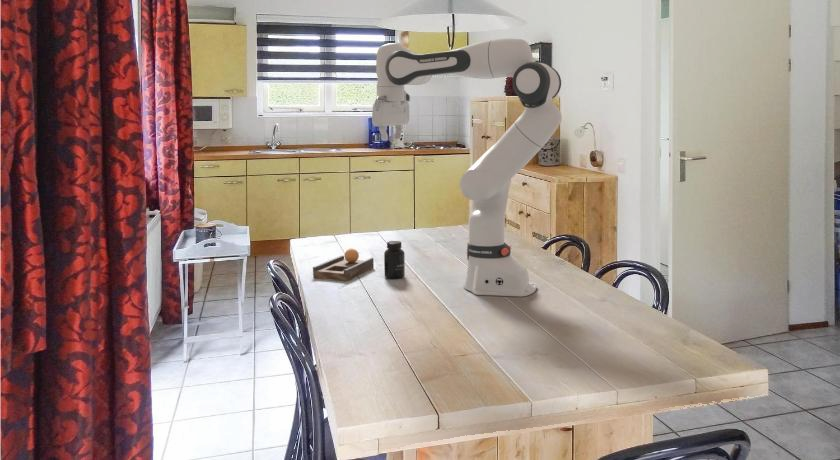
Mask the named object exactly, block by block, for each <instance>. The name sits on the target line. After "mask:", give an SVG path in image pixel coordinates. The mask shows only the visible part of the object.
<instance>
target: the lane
mask: <svg viewBox="0 0 840 460" xmlns="http://www.w3.org/2000/svg"><path fill="white" fill-rule="evenodd" d="M374 267H375V265H374V258H373V257H370V258H367V259H365V260H363V259H362V260H361V259H358V260H357V261H356V262H353V263H350V262H348V261H346V259H345V255H340V256H337V257H335V258H332V259H331V260H330V259H329V260H327V261H325V262H322V263H320V264H317V265H316V266H313V267H312V276H313V279H322V280H331V281H341V282H348V281H350V280H353V279H355V278H357V277H359V276H360V275H362V274H365V273H367V272H369V271H371V270H373V269H374Z"/></svg>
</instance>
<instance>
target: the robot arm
mask: <svg viewBox="0 0 840 460" xmlns="http://www.w3.org/2000/svg"><path fill="white" fill-rule="evenodd" d="M532 52H533V51H532V48H531V46H530V44H529V43H528V42H527V41H526V40H525V39H521V38H498V39H495V38H494V39H489V40H485V41H484V40H483V41H480V42H475V43H472V44H469V45H465V46H462V47H458V48H455V49H451V50H448V51H447V50H446V51H439V52H432V53H431V52H429V53H422V54H421V53H419V52H415V51H413V50H410V49H408V48H407V47H405V46H403V45H402V44H401V43H399V42H393V43H391V42H389V43H386V44H383V45H381V46H380V47H379V48H378V50H377V52H376V61H375V62H376V63H375V64H376V65H375V66H376V67H375V70H376V71H375V72H376V76H377V83H376V99H375V100H374V103H373V104H372V112H371V124H372V125H373V127H378V130H379V134H380V139H381V141H382V142H383V141H384V142H387V141H389V134H388V132H387V130H388V126H389V127H391V126H394V128H395V132H394V135H393V136H394V137H393V138H394V140H401V138H402V132H403V128H404V125H408V124H409V121H410V103H409V102H411V94H409V93H407V91H406V90H405V85H406V86H420V85H423V84H426V83H428V82H429V81H430V80H431V78H432V77H433V76H437V75H445V74H446V75H455V76H456V75H457V76H462V77H467V78H470V79H471V78H473V79H483V80H484V79H487V80H488V79H499V78H512V83H511V84H512V87H513V90H514V92H515V95H516V96H517V98H518V99H519V101H520V103H521V105H522V106H523V107H524V109H523V112H521V114H520V115H519V116H518V118H517V119H516V120H515V121H514V122H513V123H512V124H511V126H509V128H507V130H506V131H505V132H504V133H503V134H502V136H501V137H500V138H499V139H498V140H497V141H496V142H495V143H494V144H493V145H491V147H490V148H488V149H487V150H486V151H485V152H484V153H483V154H482V155H481V156H480V157H479V158H478V159H477V160H475V162H474V163H473V164H472V165H471V166H470V167H469V168H467V170H465V171H464V173H463V174H462V175H461V177H460V180H459V188H460V191H461V194H462V195H463V196H464V197H465V198H466V199H468V200H470V201H472V206H471V210H470V213H469V216H468V242H467V243H466V244H467V247H466V256H467V259H466V261H467V269H466V276H465V280H464V283H463V284H464V285H463V288H464V289H465V290H467V291H469V292H470V293H472V294H474V295H475V296H477V295H479V296H497V297H500V296H502V297H523V298H524V297H527V296H530V295H532V294H534V292H536V290H537V284H536V283H535V282H532V281H530V277H529V273H528V272H529V271H528V269H527V267H525V266H524V265H523V264H522V263H521V262H519V261H518V260H517V259H516V258H515V257H513V256H512V255H511V250H512V244H511V245H508V244H507V243H506V241H505V221H506V220H505V219H506V210H507V204H508V199H509V192H510V191H509V190H510V185H511V181H512V179H513V177H514V176H515V175H517V174H518V173H519V172H520V171H521V170H523V168H525V167H526V166H527V164H528V163H529V162H530V161H532V159H533V158H534V157H535V156H536V155H537V154H538V153H539V152H540V151H541V149H543V147H544V146H545V145H546V144H547V142H548V141H549V140H550V139H551V138H552V136H553V135H554V134H555V132H556V130H557V129H558V127H559V126H560V124H561V122H562V118H563V117H562V112H561V110H560V109H559V107H558V106H557V105H556V104H554V101H553V99H554V98H555V97H556V96H557V95H558V94H559V93H560V91H561V87H562V80H561V79H562V78H561V76H560V73H559V72H558V71H557V70H556V69H555V68H554V67H552V66H550V65H549V64H546V63H544V62H541V61H539V60H534V58H533V53H532Z"/></svg>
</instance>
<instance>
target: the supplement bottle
mask: <svg viewBox="0 0 840 460" xmlns="http://www.w3.org/2000/svg"><path fill="white" fill-rule="evenodd" d="M386 248H387V249H386V250H385V251H384V253H383V254H384V255H383V256H384V257H383V261H384V262H383V263H384V267H383V268H384V277H385V278H386V279H389V280H400V279H403V278H404V277H405V276H406V274H405V273H406V271H405V270H406V269H405V268H406V267H405V266H406V265H405V261H406V260H405V254H406V253H405V251H404V250H403V249H402V248H403V246H402V241H398V240H390V241H387V242H386Z"/></svg>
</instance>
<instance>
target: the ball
mask: <svg viewBox="0 0 840 460" xmlns="http://www.w3.org/2000/svg"><path fill="white" fill-rule="evenodd" d="M359 255H360V254H359V252H358V250H357V249H356V248H348V249H347V250H346V251H345V252H344V259H346V261H348V262H350V263H353V262H356V261H357V260H359V257H360V256H359Z"/></svg>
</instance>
